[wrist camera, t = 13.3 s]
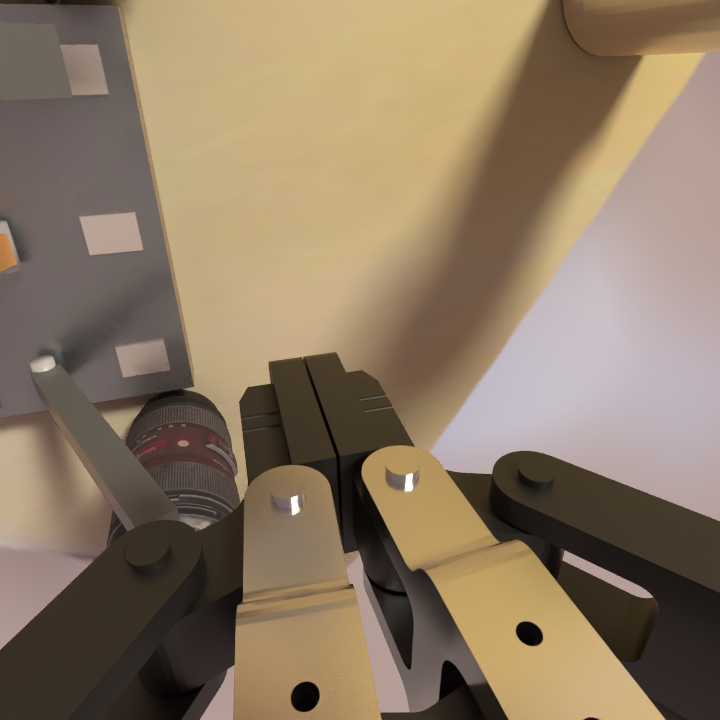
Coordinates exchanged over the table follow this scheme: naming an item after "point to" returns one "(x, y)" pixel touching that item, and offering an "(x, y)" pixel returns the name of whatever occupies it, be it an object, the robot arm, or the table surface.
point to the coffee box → (53, 2)
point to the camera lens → (185, 457)
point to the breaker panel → (86, 226)
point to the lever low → (31, 63)
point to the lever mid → (8, 251)
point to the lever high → (100, 448)
